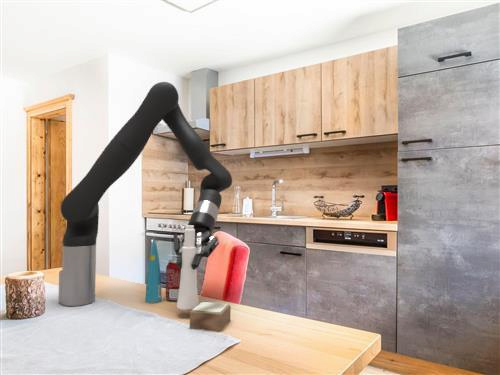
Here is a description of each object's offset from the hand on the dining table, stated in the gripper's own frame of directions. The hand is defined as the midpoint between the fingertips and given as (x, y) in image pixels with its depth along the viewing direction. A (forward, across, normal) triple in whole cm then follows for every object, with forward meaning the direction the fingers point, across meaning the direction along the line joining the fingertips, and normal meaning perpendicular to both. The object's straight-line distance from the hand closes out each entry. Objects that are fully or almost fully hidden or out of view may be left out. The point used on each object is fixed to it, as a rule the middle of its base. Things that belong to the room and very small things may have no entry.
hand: (186, 267), depth 98 cm
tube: (+1, -16, +18) cm, 24 cm away
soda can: (-2, -10, +21) cm, 23 cm away
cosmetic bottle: (+7, 0, +9) cm, 11 cm away
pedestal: (+12, +8, +7) cm, 16 cm away
